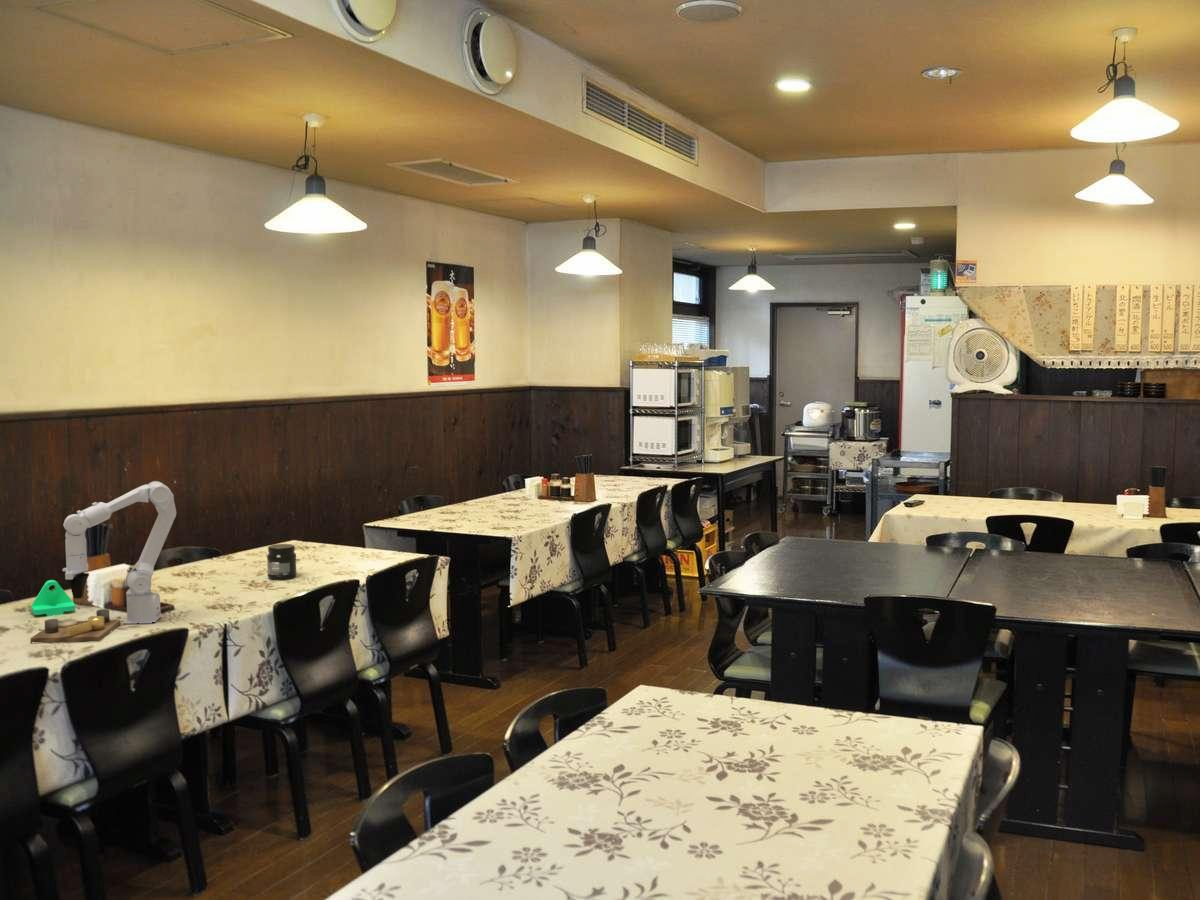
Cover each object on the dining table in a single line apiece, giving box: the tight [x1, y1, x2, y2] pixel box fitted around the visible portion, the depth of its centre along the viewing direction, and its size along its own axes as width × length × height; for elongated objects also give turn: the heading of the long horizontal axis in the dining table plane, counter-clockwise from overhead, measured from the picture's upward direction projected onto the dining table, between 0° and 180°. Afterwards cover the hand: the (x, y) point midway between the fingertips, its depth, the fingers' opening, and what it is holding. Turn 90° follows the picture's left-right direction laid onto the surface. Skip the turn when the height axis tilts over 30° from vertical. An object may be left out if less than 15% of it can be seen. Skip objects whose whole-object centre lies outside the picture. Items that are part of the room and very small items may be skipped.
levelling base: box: [30, 608, 121, 643], centre depth 324 cm, size 19×19×5 cm
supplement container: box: [266, 543, 298, 581], centre depth 403 cm, size 10×10×12 cm
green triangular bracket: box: [30, 579, 76, 617], centre depth 349 cm, size 12×8×10 cm, turn 124°
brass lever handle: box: [66, 615, 105, 636], centre depth 320 cm, size 12×4×3 cm, turn 156°
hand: (78, 597), depth 330 cm, fingers closed
